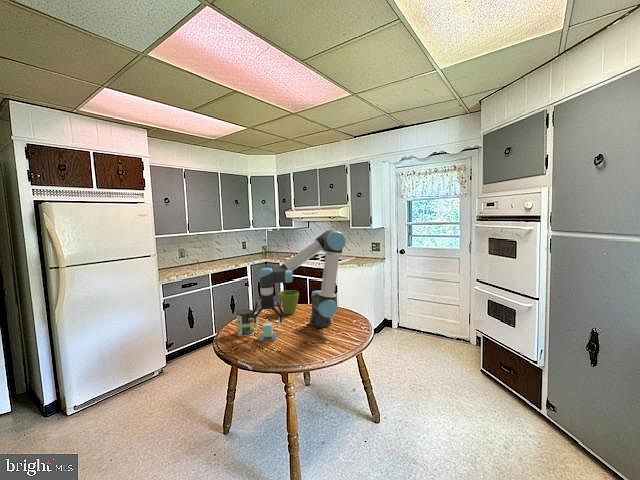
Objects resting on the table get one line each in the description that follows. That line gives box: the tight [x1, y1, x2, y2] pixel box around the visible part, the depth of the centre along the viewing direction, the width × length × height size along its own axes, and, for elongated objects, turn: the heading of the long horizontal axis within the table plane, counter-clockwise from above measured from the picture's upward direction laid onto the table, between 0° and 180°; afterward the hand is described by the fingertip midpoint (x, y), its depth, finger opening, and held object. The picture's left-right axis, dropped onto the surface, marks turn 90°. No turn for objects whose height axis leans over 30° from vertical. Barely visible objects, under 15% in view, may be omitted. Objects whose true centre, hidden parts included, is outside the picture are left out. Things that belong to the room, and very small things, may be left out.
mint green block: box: [262, 322, 274, 337], centre depth 181 cm, size 5×5×7 cm
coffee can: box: [235, 308, 255, 337], centre depth 188 cm, size 10×10×14 cm
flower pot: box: [278, 289, 300, 315], centre depth 228 cm, size 15×15×16 cm
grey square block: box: [257, 332, 278, 342], centre depth 182 cm, size 10×10×8 cm
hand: (268, 328), depth 182 cm, fingers open, 13 cm apart
